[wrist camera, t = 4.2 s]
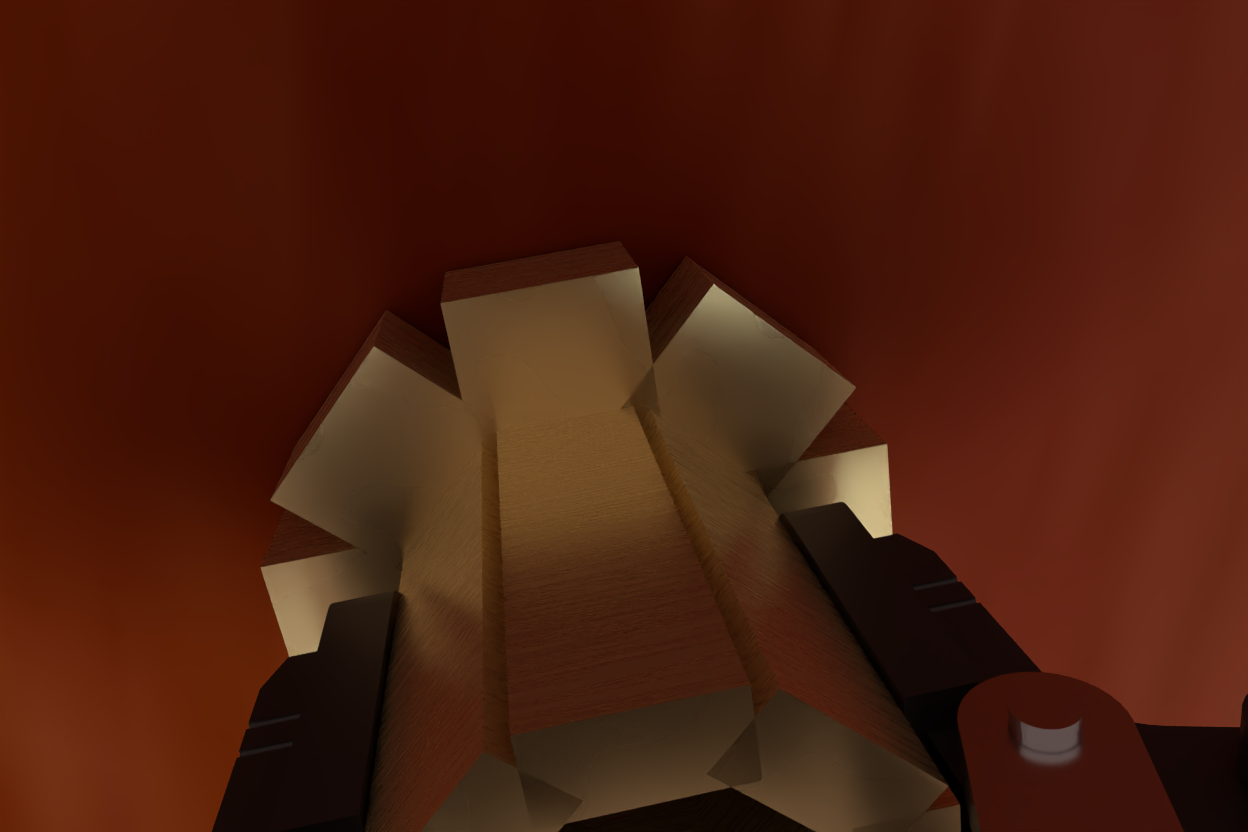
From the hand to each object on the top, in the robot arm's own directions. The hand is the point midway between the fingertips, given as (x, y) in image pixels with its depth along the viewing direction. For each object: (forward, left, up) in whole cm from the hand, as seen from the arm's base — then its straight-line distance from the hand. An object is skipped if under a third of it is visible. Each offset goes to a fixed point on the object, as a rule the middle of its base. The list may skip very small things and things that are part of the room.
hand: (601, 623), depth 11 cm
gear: (0, 0, -2) cm, 2 cm away
